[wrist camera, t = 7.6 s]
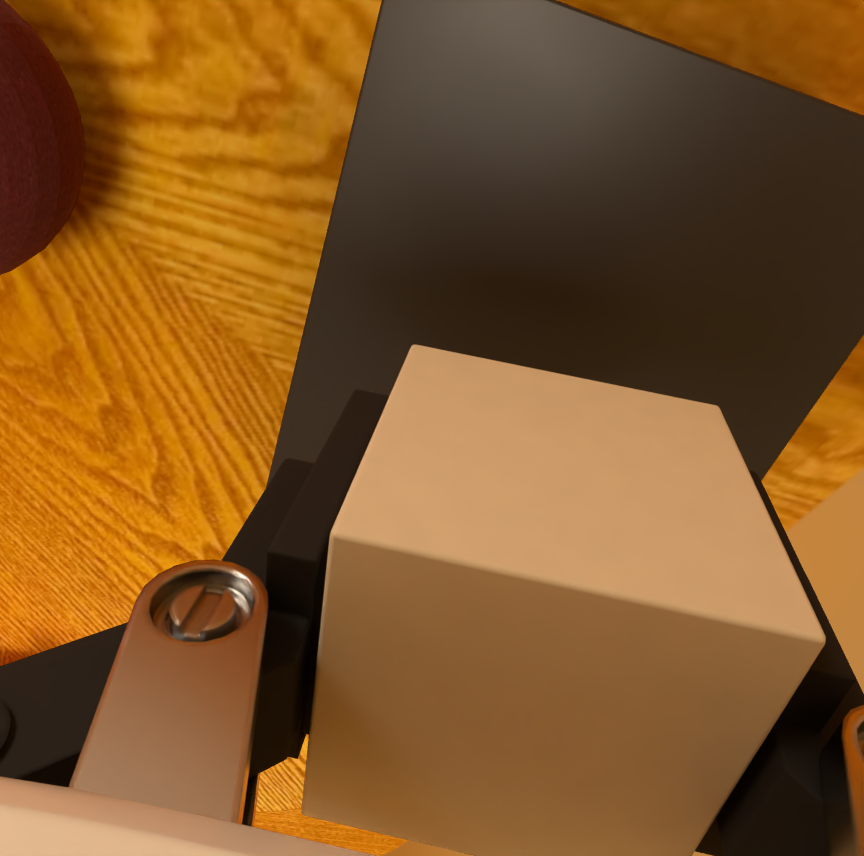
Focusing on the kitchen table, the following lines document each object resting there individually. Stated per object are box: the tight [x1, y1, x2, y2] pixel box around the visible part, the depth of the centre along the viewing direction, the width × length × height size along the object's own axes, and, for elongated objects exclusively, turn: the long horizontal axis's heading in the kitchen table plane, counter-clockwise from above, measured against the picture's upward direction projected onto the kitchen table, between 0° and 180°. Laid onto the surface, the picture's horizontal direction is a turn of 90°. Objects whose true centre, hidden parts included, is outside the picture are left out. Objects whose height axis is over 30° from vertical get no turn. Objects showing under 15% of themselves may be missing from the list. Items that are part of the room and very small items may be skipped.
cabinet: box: [266, 0, 864, 488], centre depth 22 cm, size 15×13×10 cm
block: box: [302, 345, 826, 856], centre depth 9 cm, size 4×4×4 cm
